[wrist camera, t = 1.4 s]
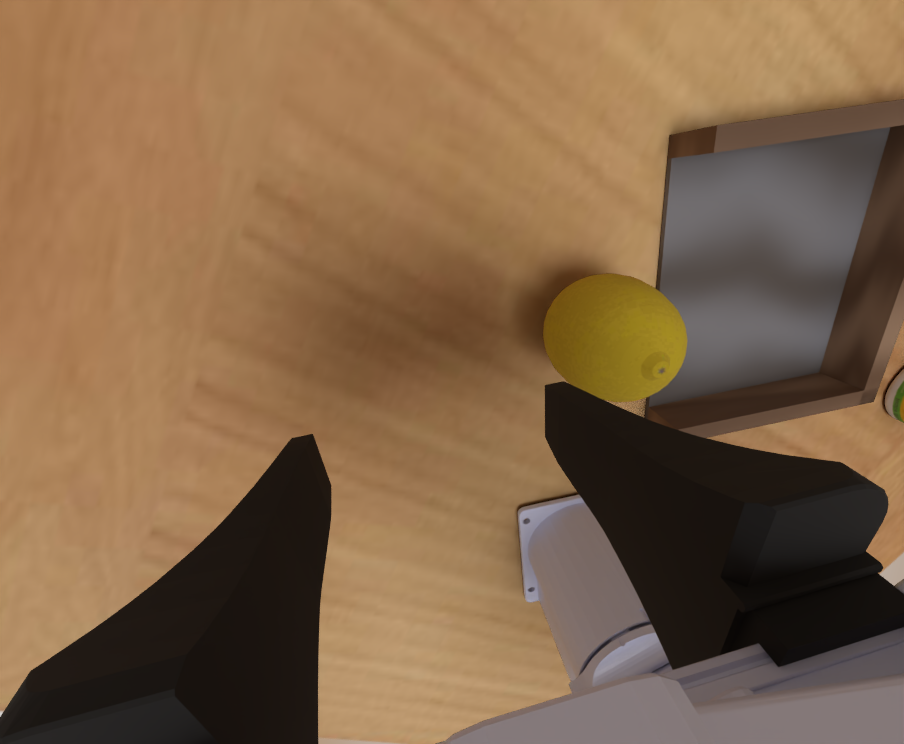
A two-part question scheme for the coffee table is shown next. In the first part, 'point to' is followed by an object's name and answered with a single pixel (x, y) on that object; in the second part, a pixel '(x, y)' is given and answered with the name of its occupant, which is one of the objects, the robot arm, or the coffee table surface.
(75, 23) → the coffee table surface
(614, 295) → the lemon
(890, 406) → the supplement bottle
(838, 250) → the box
